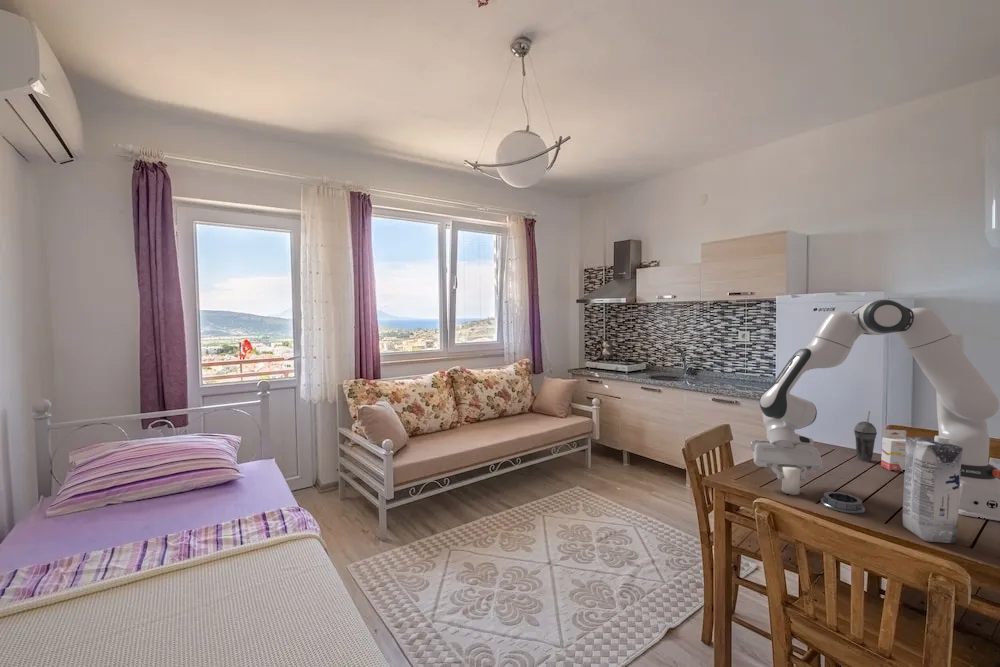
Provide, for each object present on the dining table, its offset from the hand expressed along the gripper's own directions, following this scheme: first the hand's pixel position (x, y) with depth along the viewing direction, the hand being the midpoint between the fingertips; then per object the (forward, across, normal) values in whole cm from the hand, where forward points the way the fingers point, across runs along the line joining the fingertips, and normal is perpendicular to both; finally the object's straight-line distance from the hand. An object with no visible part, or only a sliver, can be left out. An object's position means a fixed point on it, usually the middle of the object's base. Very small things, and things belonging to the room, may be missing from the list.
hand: (791, 479), depth 152 cm
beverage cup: (-28, +40, +35) cm, 60 cm away
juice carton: (+20, +25, -13) cm, 35 cm away
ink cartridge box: (-22, +47, +28) cm, 59 cm away
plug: (+3, 0, +4) cm, 4 cm away
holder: (+9, +11, -2) cm, 15 cm away
